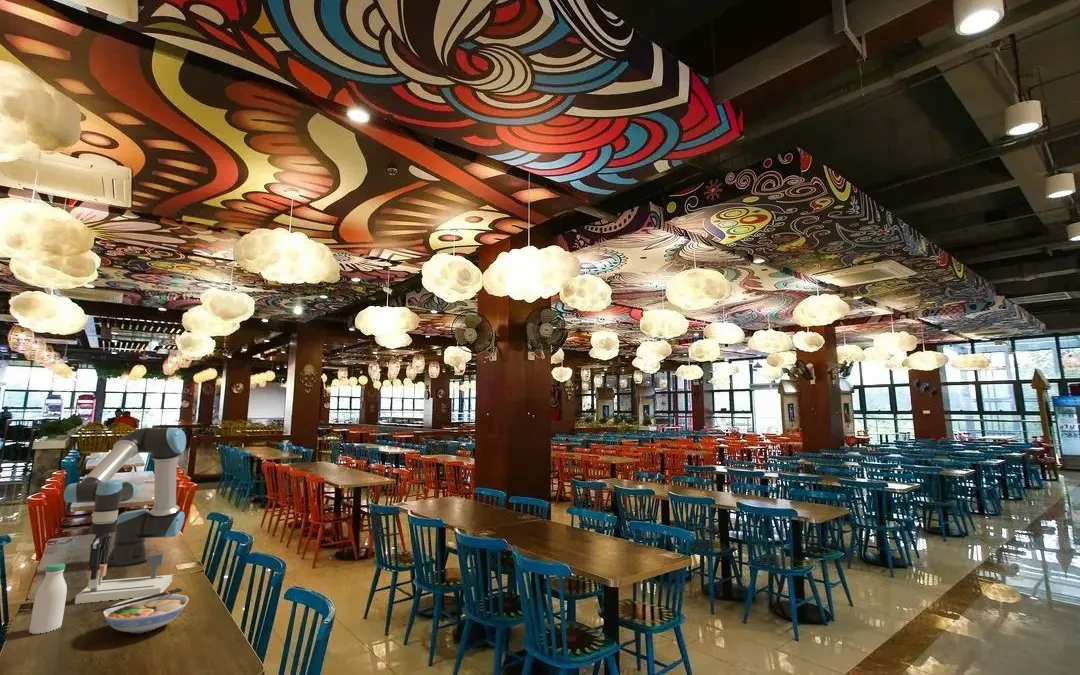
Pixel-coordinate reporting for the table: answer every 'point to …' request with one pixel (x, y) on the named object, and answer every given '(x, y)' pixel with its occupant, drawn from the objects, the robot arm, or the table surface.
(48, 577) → the milk bottle
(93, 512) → the robot arm
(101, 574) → the fader
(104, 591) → the fader panel
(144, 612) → the ramen bowl
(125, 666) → the table surface
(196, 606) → the table surface
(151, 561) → the fader
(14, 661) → the table surface
